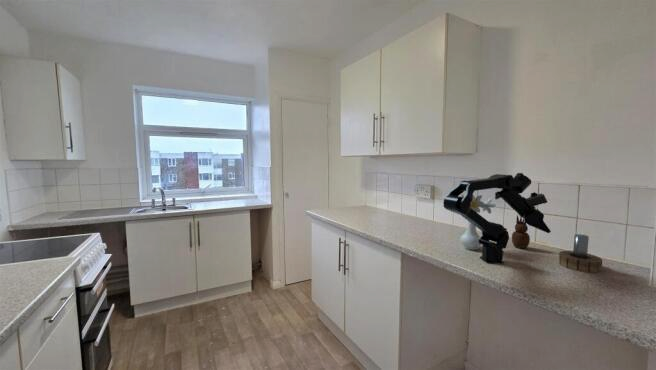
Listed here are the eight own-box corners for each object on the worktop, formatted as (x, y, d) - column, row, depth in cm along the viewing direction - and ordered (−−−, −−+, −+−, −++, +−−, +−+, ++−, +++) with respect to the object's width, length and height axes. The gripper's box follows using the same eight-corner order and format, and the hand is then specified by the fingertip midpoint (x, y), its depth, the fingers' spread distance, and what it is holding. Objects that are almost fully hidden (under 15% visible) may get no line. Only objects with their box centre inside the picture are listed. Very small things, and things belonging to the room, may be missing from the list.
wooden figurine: (508, 246, 132) (510, 214, 130) (517, 244, 134) (519, 213, 132) (523, 250, 125) (525, 217, 124) (531, 249, 127) (533, 216, 126)
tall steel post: (578, 268, 105) (580, 237, 104) (569, 264, 109) (571, 234, 108) (589, 268, 105) (591, 237, 104) (579, 264, 109) (582, 234, 108)
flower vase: (497, 248, 129) (500, 194, 126) (469, 254, 121) (471, 197, 119) (472, 240, 141) (474, 191, 138) (445, 246, 133) (447, 194, 130)
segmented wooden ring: (576, 272, 102) (577, 262, 101) (551, 260, 113) (551, 250, 113) (610, 272, 101) (611, 261, 101) (581, 260, 113) (582, 250, 113)
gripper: (538, 189, 102) (574, 221, 98) (527, 184, 119) (558, 211, 115) (511, 209, 106) (545, 240, 102) (505, 201, 123) (534, 228, 119)
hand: (546, 229), depth 110 cm, fingers open, 9 cm apart
